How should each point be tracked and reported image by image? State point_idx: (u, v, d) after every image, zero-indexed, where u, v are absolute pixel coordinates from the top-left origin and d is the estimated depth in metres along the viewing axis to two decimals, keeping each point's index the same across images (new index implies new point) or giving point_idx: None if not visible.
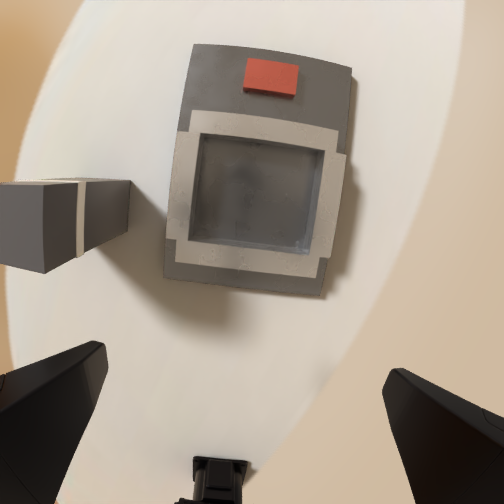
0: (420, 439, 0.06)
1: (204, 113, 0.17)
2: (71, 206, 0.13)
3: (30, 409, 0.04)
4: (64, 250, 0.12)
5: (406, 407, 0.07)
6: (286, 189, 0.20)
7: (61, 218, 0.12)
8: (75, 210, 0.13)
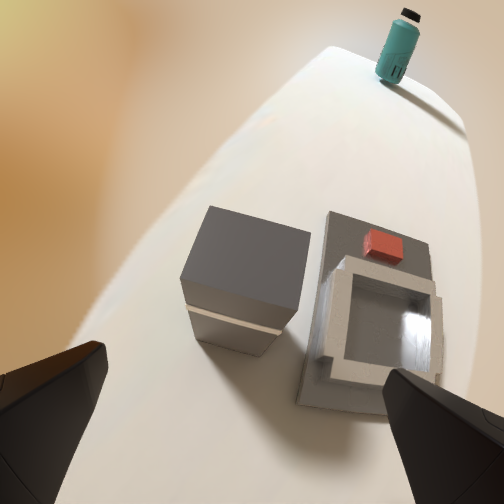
0: (420, 439, 0.06)
1: (355, 259, 0.23)
2: None
3: (30, 409, 0.04)
4: None
5: (406, 407, 0.07)
6: (401, 329, 0.22)
7: None
8: None
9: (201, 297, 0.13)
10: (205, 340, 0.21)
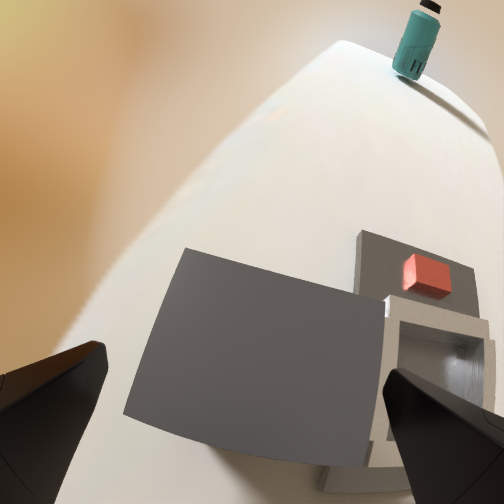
0: (420, 439, 0.06)
1: (401, 300, 0.16)
2: None
3: (31, 409, 0.04)
4: None
5: (406, 407, 0.07)
6: (449, 383, 0.15)
7: None
8: None
9: None
10: None
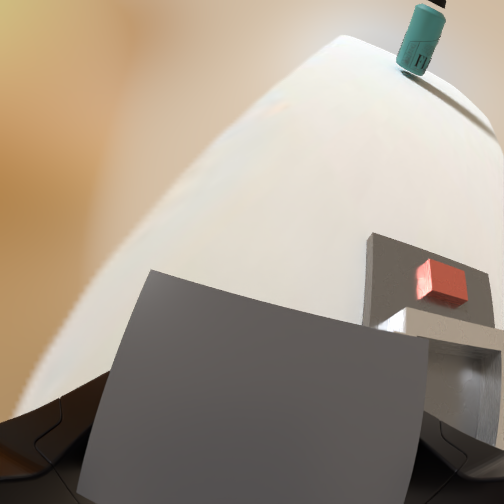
0: None
1: (418, 313, 0.14)
2: None
3: None
4: None
5: None
6: (464, 399, 0.13)
7: None
8: None
9: None
10: None
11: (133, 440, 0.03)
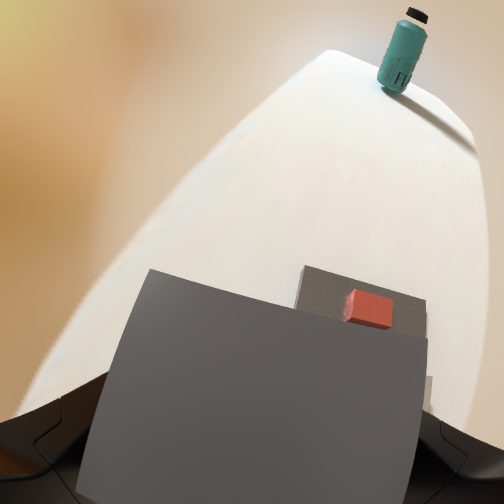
0: None
1: None
2: None
3: None
4: None
5: None
6: None
7: None
8: None
9: None
10: None
11: (132, 439, 0.03)
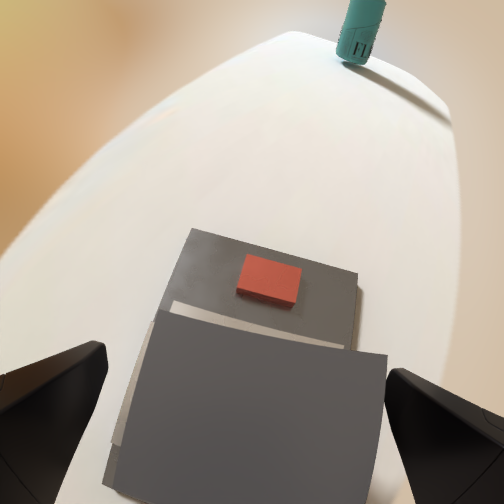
0: (420, 439, 0.06)
1: (187, 308, 0.15)
2: None
3: (30, 409, 0.04)
4: None
5: (406, 407, 0.07)
6: None
7: None
8: None
9: None
10: None
11: (156, 442, 0.04)
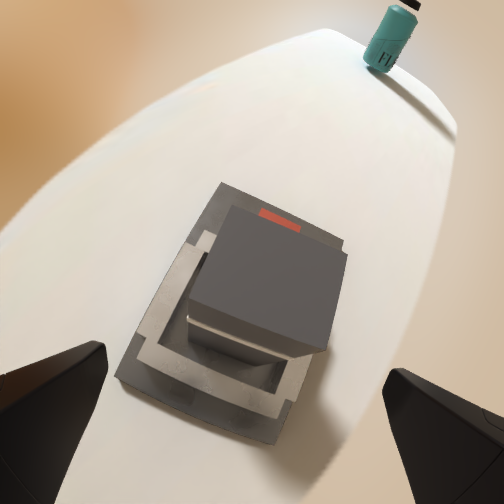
0: (420, 439, 0.06)
1: (214, 237, 0.21)
2: None
3: (30, 409, 0.04)
4: None
5: (406, 407, 0.07)
6: None
7: None
8: None
9: (210, 317, 0.11)
10: (199, 343, 0.19)
11: (221, 270, 0.10)
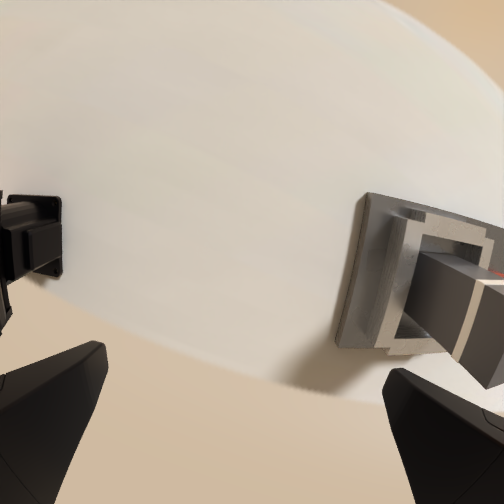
0: (420, 439, 0.06)
1: (491, 250, 0.18)
2: None
3: (30, 409, 0.04)
4: None
5: (406, 407, 0.07)
6: None
7: None
8: None
9: (497, 310, 0.11)
10: (419, 263, 0.19)
11: None
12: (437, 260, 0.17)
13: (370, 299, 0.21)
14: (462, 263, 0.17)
